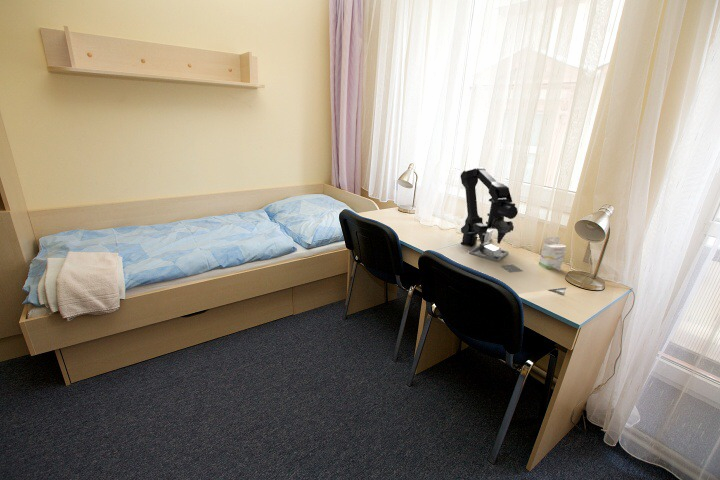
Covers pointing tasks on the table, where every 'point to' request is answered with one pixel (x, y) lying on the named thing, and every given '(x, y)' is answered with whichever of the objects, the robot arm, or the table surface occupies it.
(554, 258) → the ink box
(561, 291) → the external hard drive
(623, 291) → the table surface
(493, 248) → the strut
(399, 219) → the table surface
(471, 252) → the tray
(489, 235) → the beige cube
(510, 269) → the stud plate
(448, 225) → the table surface
